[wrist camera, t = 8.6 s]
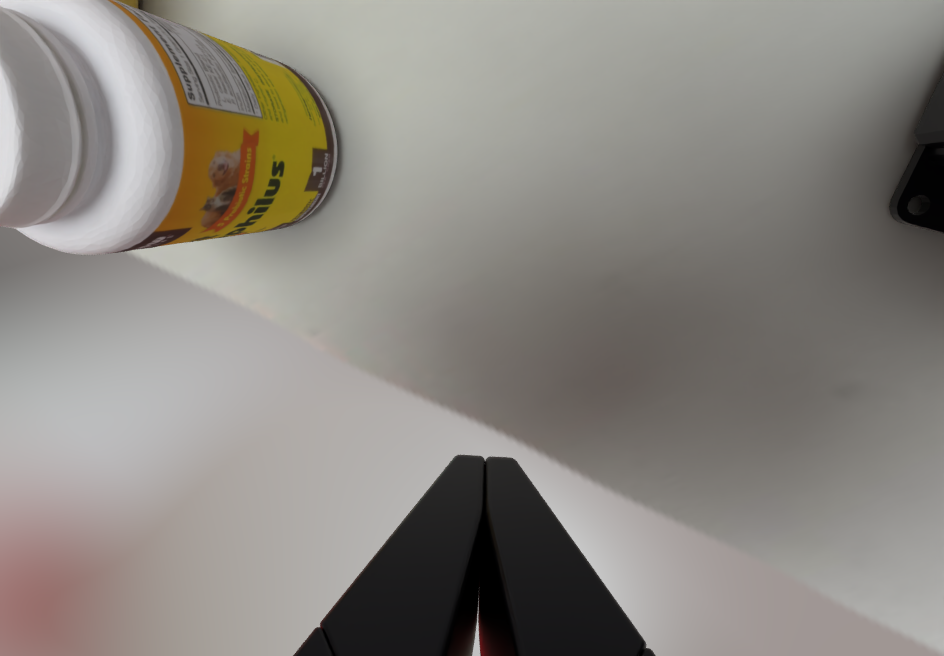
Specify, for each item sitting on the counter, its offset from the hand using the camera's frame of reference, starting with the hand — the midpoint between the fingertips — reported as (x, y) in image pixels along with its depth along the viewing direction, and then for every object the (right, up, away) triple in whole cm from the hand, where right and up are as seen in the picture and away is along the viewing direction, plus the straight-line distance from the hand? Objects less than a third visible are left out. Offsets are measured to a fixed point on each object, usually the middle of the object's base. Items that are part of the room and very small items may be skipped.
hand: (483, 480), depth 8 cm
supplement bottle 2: (-7, +9, +11) cm, 16 cm away
